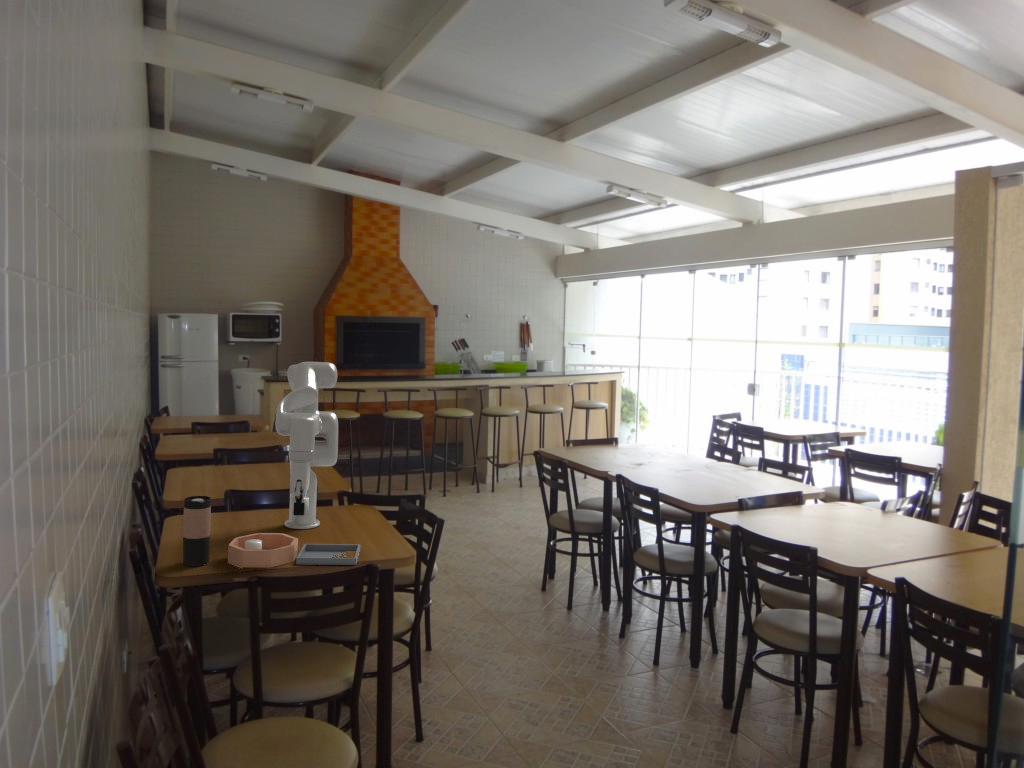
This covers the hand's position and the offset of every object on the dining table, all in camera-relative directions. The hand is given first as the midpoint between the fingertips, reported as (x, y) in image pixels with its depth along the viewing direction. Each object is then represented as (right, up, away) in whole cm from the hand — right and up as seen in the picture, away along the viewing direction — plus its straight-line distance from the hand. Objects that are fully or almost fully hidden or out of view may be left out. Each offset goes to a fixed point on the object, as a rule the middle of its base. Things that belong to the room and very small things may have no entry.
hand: (300, 512), depth 226 cm
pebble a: (-14, -14, -1) cm, 20 cm away
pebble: (0, 0, 0) cm, 0 cm away
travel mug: (-30, -15, -7) cm, 34 cm away
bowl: (-11, -15, -1) cm, 19 cm away
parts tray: (+9, -16, +3) cm, 18 cm away
